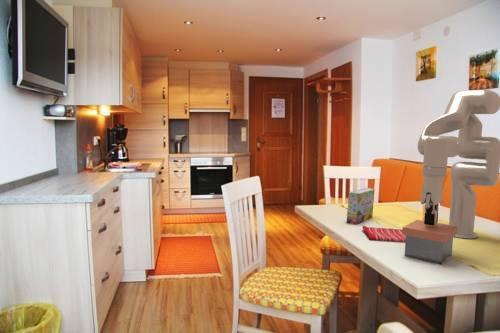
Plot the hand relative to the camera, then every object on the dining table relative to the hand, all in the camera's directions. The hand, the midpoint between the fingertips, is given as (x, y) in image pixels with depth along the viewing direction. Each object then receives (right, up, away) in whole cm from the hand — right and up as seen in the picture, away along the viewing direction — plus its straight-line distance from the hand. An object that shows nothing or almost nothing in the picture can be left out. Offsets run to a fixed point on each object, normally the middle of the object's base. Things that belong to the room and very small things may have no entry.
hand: (430, 223), depth 135 cm
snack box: (-10, -7, +53) cm, 54 cm away
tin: (0, -12, +1) cm, 12 cm away
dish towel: (-4, -10, +25) cm, 27 cm away
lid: (0, -4, 0) cm, 4 cm away
